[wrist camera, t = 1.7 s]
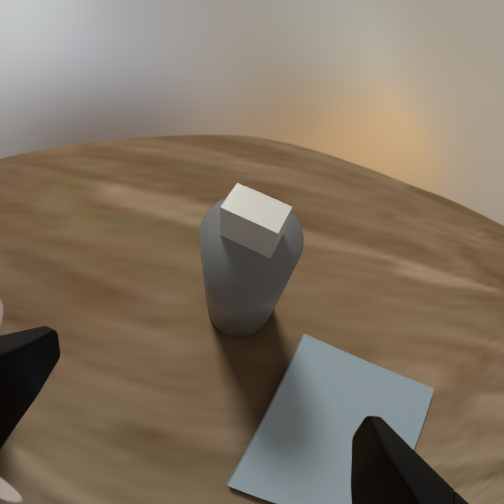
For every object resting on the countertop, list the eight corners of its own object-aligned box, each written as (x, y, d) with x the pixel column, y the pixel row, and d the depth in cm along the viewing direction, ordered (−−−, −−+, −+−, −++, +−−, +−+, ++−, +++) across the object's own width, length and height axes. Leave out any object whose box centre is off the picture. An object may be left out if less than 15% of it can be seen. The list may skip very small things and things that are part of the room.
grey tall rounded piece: (254, 348, 21) (288, 282, 10) (196, 318, 21) (172, 226, 11) (280, 294, 23) (329, 191, 12) (226, 267, 24) (232, 150, 13)
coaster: (372, 523, 14) (377, 525, 14) (227, 482, 16) (227, 485, 15) (428, 389, 20) (434, 388, 19) (301, 336, 21) (304, 333, 21)
